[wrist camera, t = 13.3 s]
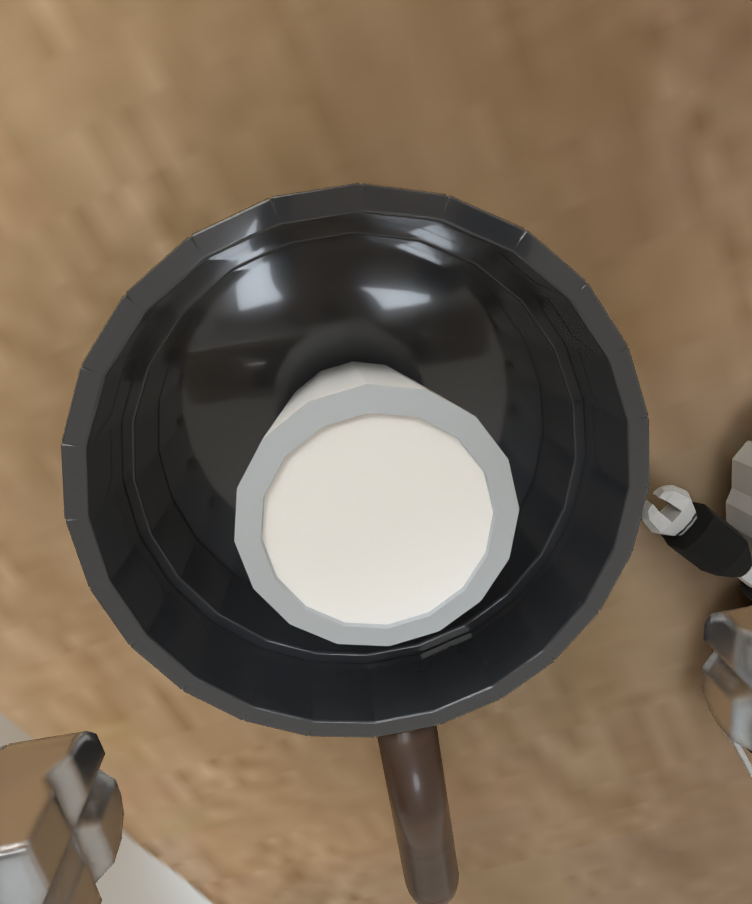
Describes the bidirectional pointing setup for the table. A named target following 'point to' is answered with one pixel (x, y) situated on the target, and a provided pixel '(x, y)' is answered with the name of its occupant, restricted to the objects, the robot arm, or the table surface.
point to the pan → (267, 393)
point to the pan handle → (421, 813)
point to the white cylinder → (374, 509)
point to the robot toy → (711, 532)
